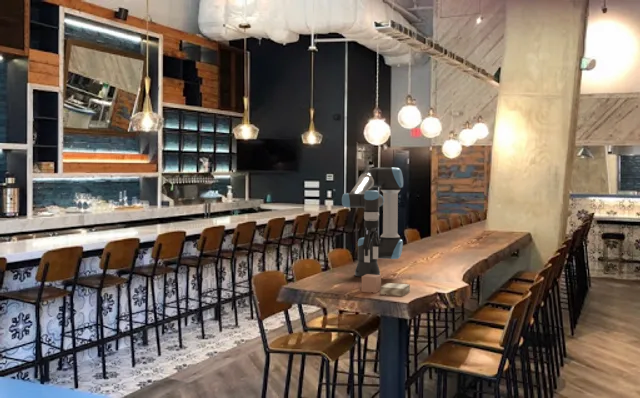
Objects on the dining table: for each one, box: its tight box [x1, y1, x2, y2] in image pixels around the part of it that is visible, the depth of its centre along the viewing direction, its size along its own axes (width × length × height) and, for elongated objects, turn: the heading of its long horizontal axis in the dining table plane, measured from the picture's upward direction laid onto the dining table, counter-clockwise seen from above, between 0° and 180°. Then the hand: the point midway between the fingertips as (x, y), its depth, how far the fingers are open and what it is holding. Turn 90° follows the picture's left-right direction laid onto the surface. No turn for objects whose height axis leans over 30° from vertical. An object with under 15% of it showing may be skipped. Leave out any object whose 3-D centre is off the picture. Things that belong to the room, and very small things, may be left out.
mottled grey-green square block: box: [380, 282, 411, 297], centre depth 324 cm, size 12×12×4 cm
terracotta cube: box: [361, 274, 382, 294], centre depth 329 cm, size 8×8×8 cm
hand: (371, 260), depth 328 cm, fingers open, 13 cm apart
